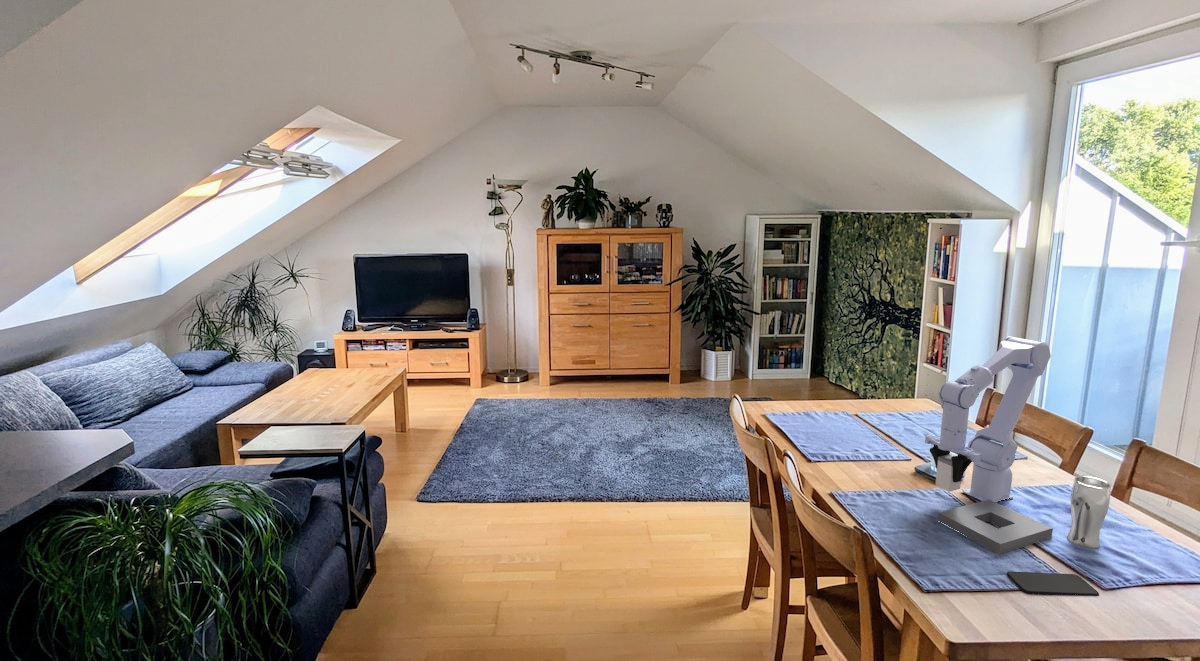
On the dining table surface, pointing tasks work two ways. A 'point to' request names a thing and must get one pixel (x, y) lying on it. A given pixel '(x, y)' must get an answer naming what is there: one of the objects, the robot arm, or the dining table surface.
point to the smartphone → (1051, 584)
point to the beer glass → (1088, 510)
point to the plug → (946, 474)
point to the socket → (1000, 540)
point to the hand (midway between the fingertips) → (948, 477)
